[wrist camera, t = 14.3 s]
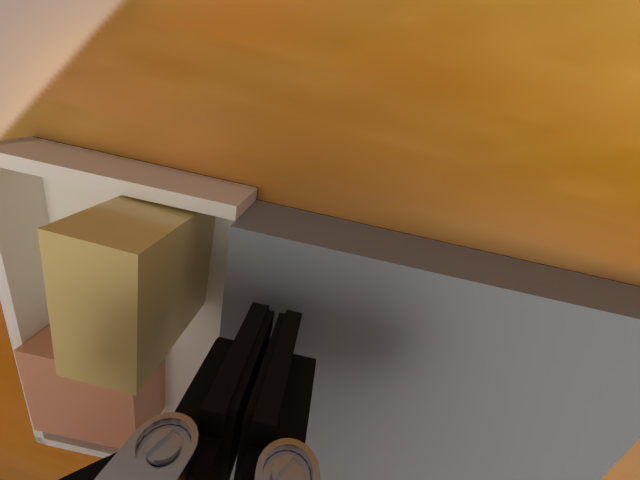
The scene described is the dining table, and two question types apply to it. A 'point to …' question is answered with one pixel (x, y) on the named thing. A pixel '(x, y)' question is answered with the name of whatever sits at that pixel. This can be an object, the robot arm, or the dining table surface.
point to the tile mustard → (123, 287)
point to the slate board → (442, 351)
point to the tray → (84, 192)
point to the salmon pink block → (82, 399)
